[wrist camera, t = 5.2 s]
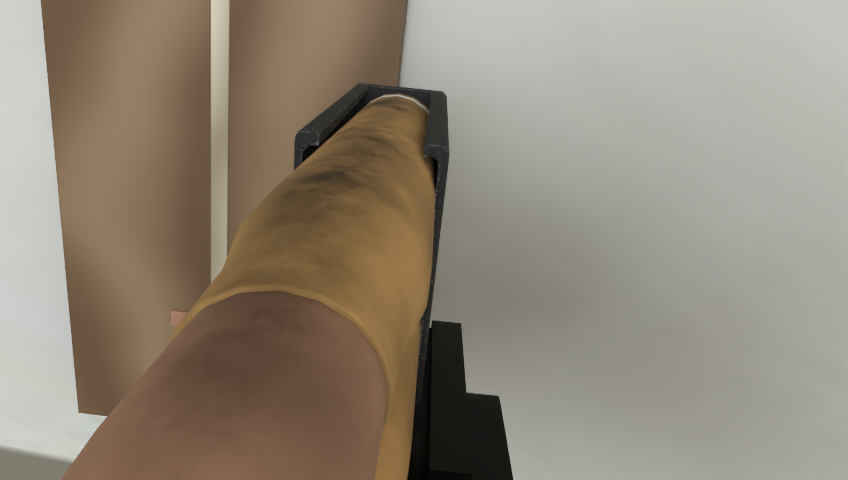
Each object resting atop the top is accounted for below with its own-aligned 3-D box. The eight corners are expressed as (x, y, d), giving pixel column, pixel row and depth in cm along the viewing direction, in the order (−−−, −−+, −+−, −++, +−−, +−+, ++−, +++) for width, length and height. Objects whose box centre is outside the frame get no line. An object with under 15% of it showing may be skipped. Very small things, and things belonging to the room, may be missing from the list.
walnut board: (430, -212, 20) (429, -233, 19) (362, 428, 30) (357, 449, 28) (44, -265, 20) (12, -290, 19) (96, 394, 29) (77, 413, 28)
